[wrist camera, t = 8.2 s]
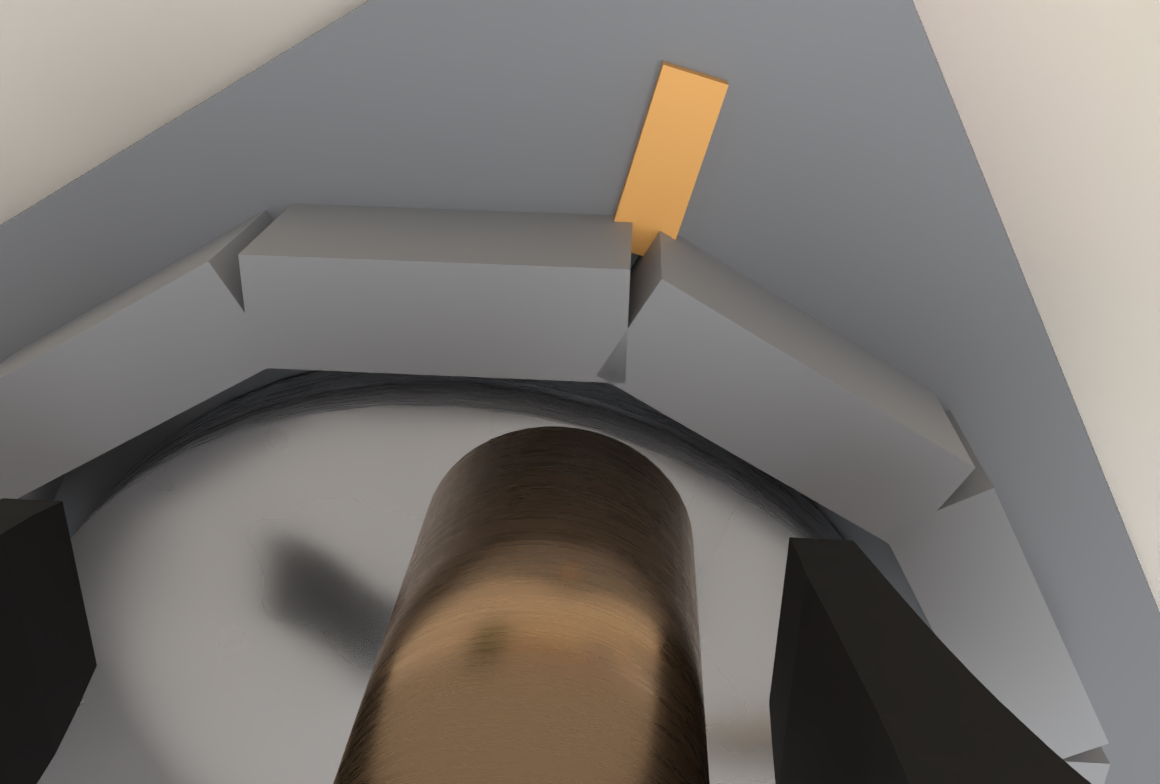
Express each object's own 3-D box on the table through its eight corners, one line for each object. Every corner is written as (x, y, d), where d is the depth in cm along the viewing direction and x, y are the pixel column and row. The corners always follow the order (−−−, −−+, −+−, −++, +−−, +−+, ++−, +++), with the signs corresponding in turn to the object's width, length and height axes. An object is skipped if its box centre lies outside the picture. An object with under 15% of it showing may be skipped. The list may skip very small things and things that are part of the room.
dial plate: (337, 1143, 22) (288, 1339, 19) (-357, 446, 16) (-588, 578, 13) (1248, 873, 18) (1369, 1075, 15) (786, -250, 11) (834, -292, 8)
